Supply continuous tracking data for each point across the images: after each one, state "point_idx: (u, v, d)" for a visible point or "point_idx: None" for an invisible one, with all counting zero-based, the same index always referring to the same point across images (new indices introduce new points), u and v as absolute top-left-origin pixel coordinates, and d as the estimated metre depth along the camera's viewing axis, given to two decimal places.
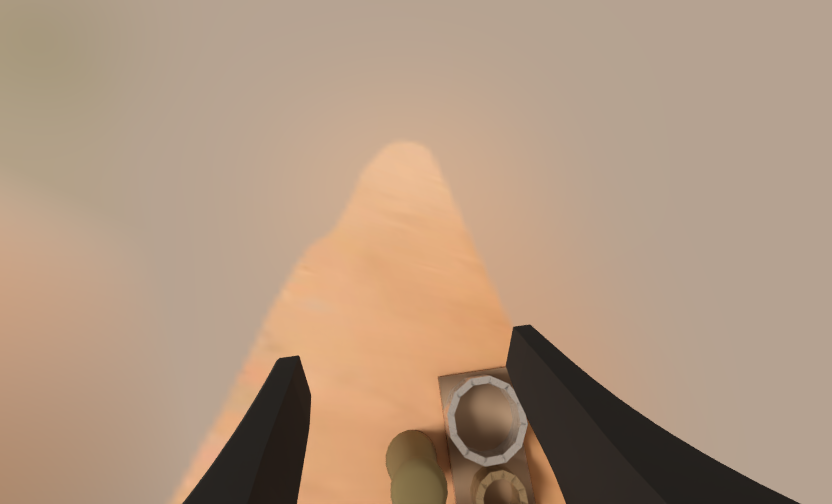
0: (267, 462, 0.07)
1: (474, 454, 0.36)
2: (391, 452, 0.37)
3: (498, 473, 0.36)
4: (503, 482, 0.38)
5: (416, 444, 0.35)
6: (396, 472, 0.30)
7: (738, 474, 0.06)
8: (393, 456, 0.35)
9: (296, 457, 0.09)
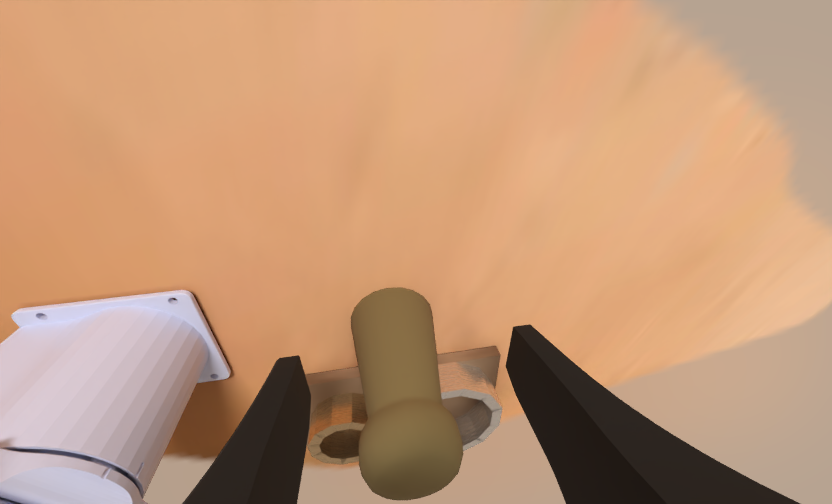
0: (267, 462, 0.07)
1: None
2: (417, 315, 0.21)
3: None
4: None
5: None
6: (446, 426, 0.15)
7: (738, 474, 0.06)
8: (420, 333, 0.20)
9: (296, 457, 0.09)
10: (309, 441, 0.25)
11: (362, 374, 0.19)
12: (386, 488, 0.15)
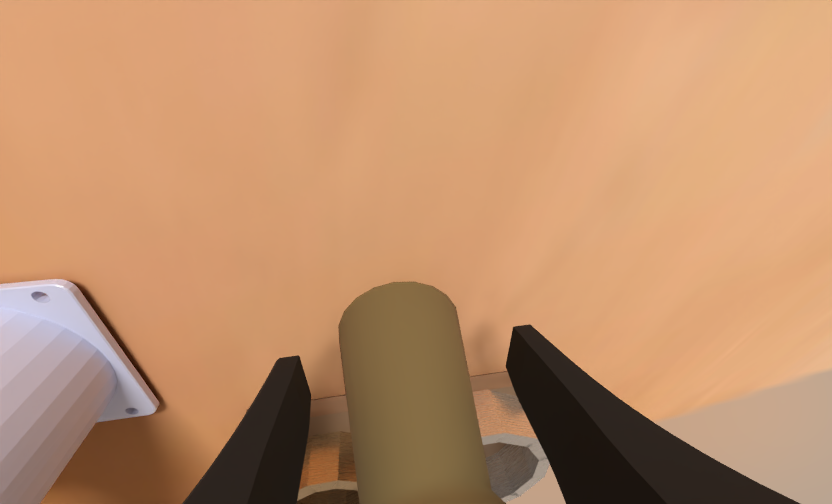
0: (267, 462, 0.07)
1: None
2: (441, 325, 0.14)
3: None
4: None
5: None
6: None
7: (738, 474, 0.06)
8: (448, 356, 0.12)
9: (296, 458, 0.09)
10: None
11: (352, 425, 0.11)
12: None
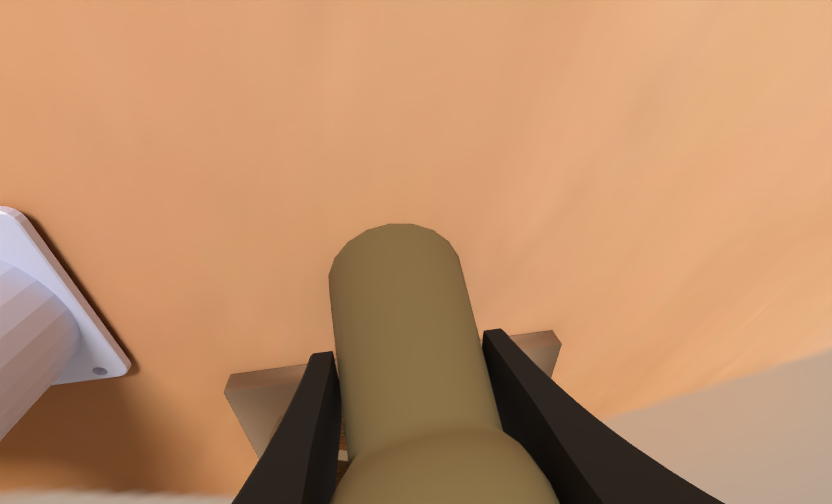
0: (314, 454, 0.07)
1: None
2: (442, 266, 0.12)
3: None
4: None
5: None
6: (540, 502, 0.06)
7: (689, 484, 0.06)
8: (450, 295, 0.11)
9: (333, 451, 0.09)
10: None
11: (341, 370, 0.10)
12: None
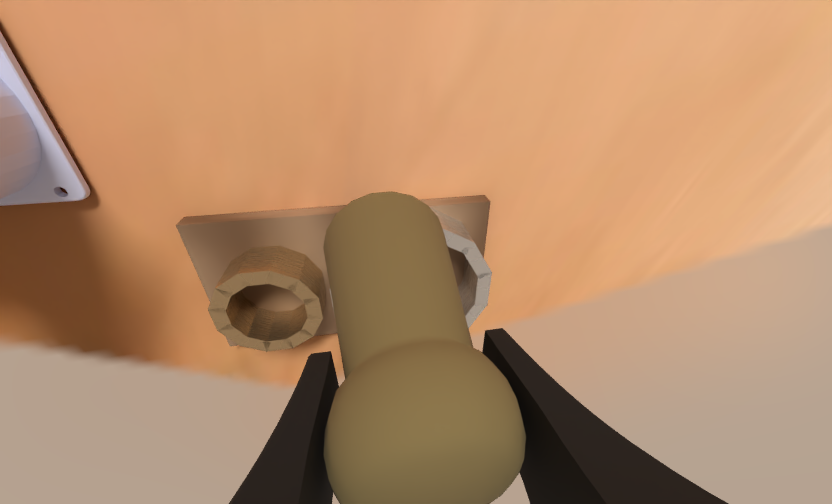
0: (312, 455, 0.07)
1: None
2: (419, 225, 0.13)
3: (317, 310, 0.18)
4: (293, 300, 0.21)
5: None
6: (490, 385, 0.08)
7: (691, 484, 0.06)
8: (426, 247, 0.12)
9: None
10: None
11: (336, 318, 0.12)
12: None
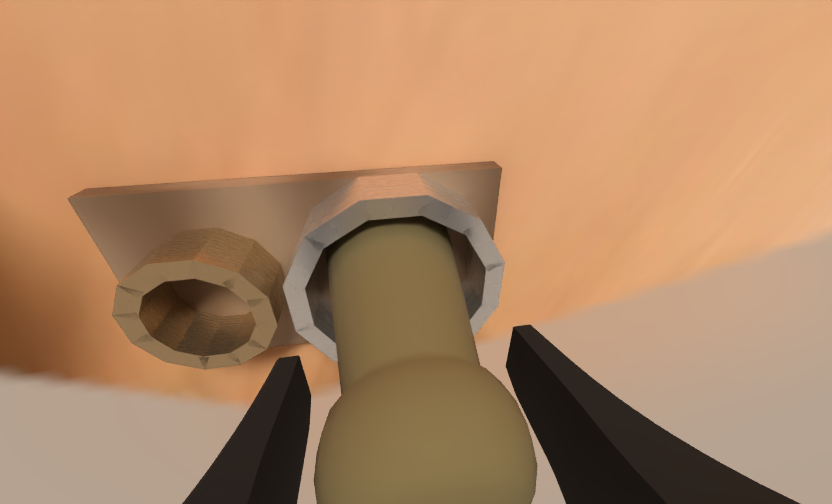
0: (267, 462, 0.07)
1: (312, 262, 0.12)
2: (424, 232, 0.13)
3: (268, 315, 0.13)
4: None
5: None
6: (497, 408, 0.07)
7: (738, 474, 0.06)
8: (431, 255, 0.12)
9: (296, 457, 0.09)
10: None
11: (335, 329, 0.11)
12: None
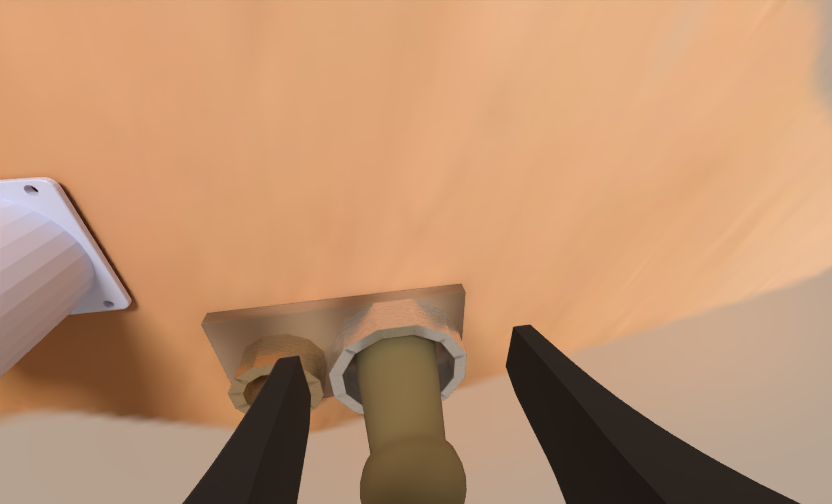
0: (267, 462, 0.07)
1: (347, 361, 0.21)
2: (415, 341, 0.21)
3: (318, 389, 0.21)
4: None
5: None
6: (445, 464, 0.15)
7: (738, 474, 0.06)
8: (419, 360, 0.20)
9: (296, 458, 0.09)
10: (230, 388, 0.20)
11: (363, 407, 0.19)
12: None
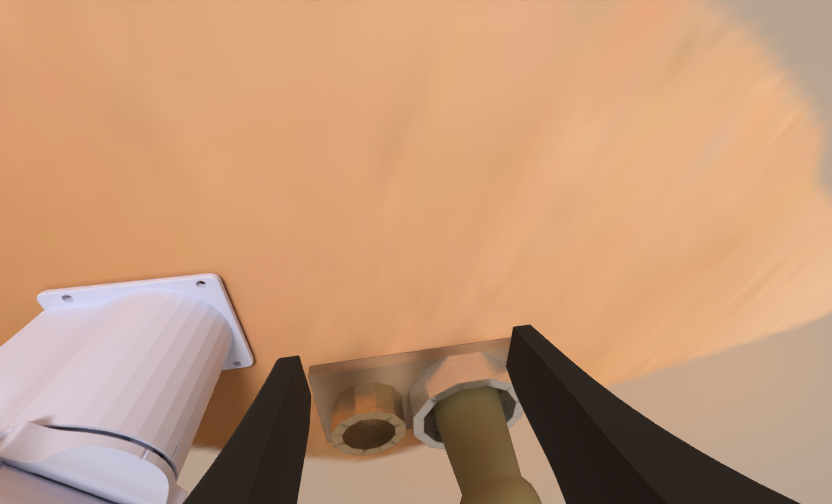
0: (267, 462, 0.07)
1: (430, 407, 0.25)
2: (486, 389, 0.25)
3: (402, 430, 0.25)
4: None
5: None
6: (532, 502, 0.19)
7: (738, 474, 0.06)
8: (492, 408, 0.24)
9: (296, 457, 0.09)
10: (332, 431, 0.24)
11: (448, 448, 0.23)
12: None
